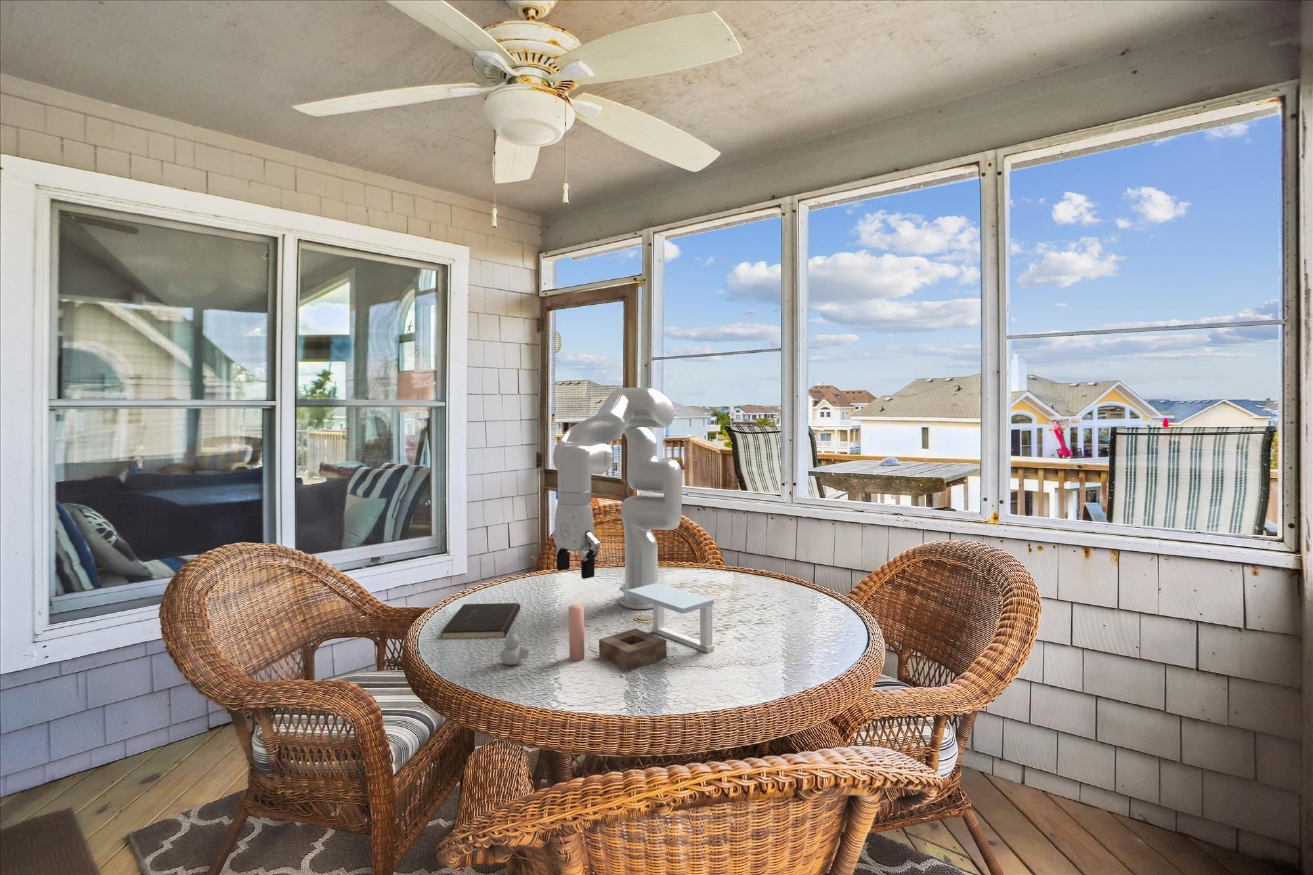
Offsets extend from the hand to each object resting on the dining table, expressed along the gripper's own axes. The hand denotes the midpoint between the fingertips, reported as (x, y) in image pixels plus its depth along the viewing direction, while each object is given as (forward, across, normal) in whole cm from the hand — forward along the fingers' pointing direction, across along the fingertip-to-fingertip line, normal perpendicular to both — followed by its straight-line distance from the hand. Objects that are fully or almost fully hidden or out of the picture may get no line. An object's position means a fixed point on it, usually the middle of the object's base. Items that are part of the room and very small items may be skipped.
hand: (575, 573), depth 149 cm
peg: (+20, 0, 0) cm, 20 cm away
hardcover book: (+20, -38, -4) cm, 43 cm away
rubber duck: (+20, -7, -12) cm, 24 cm away
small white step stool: (+20, +8, +22) cm, 30 cm away
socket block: (+20, +8, +10) cm, 24 cm away
